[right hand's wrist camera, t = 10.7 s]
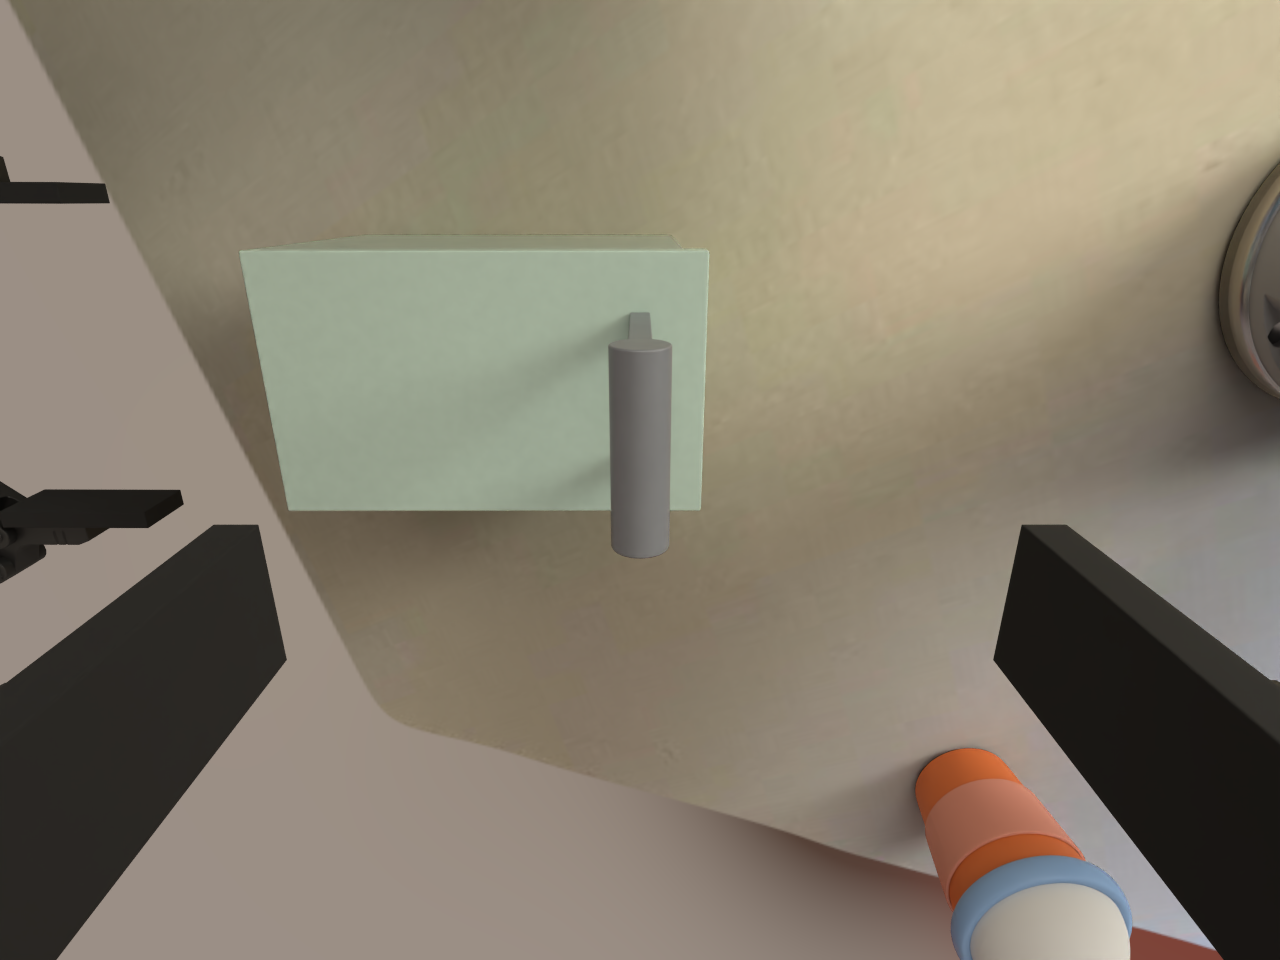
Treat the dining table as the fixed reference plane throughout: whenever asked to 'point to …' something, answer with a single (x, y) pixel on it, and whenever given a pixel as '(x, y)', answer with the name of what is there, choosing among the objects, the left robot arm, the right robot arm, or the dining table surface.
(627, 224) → the dining table surface
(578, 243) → the chest
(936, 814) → the cup with straw
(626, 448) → the lid
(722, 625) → the dining table surface
